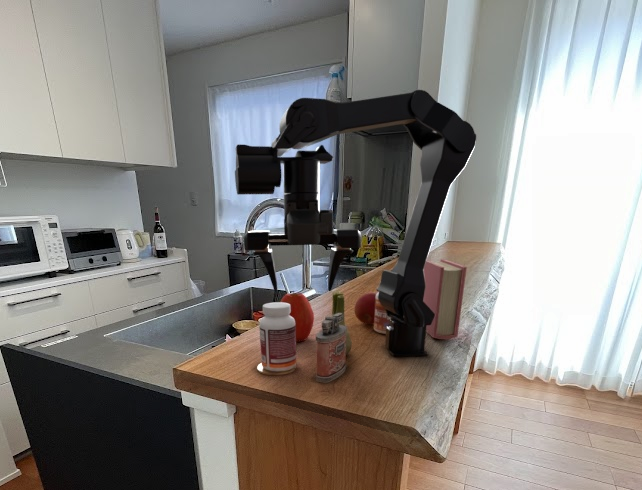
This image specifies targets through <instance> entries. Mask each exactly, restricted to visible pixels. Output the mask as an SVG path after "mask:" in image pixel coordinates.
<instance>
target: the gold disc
mask: <svg viewBox="0 0 642 490" xmlns="http://www.w3.org/2000/svg"><path fill="white" fill-rule="evenodd" d="M296 366H297V365H296ZM296 366H295V367H294V368H292V369H290V370H287V371H280V372H276V371H269V370H266V369H264V368H263V366H262V362H260V363H259V364H257V366H256V370H257V372H259V373H260V374H263V375H266V376H283V375H288V374H291V373H292V372H294V371H295V370H296V368H297V367H296Z"/></svg>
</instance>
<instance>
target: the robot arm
mask: <svg viewBox="0 0 642 490" xmlns="http://www.w3.org/2000/svg"><path fill="white" fill-rule="evenodd" d="M279 121H280V122H279V128H278V129H279V134H278V135H277V137H275V138H274V140H273V141H272V142H271V145H270V146H269V145H267V146H265V145H264V146H262V145H261V146H260V145H255V146H253V145H248V144H237V145H236V147H235V170H234V181H235V189H236V190H235V191H236V195H274V193H275V190H276V188H281V185H282V180H283V213H284V216H283V217H284V219H283V227H284V229H283V231H284V234H280V233H279V234H278V233H277V234H271V232H270V230H249V231H247V232H246V233H245V234H244V236H243V245H244V246H243V247H244V251H253V252H252V254H253V256H256V257H257V256H258V257H259V258H260V259H261V261H262V263H263V265H264V267H265V269H266V271H267V274H268V276H269V280H270V282H271V285H272V287H273V291H274V293H278V279H277V272H276V265H275V258H274V252H273V249H272V246H273V247H274V246H275V247H276V246H277V247H278V246H313V245H315V246H317V245H318V246H321V245H333V246H332V247H331V248H330V254H329V265H328V275H327V291H328V292H332V289H333V286H334V283H335V279H336V277H337V274H338V271H339V269H340V266H341V264H342V263H343V261H344V259H345V257H346V255H349V254H350V255H351V254H352V253H353V252H354V250H353V249H361V248H362V233H361V231H359V229H356V228H334V210H333V209H320V207H321V205H320V203H321V202H320V201H321V200H320V198H321V197H320V190H321V189H320V182H321V181H320V180H321V179H320V176H321V175H320V173H321V169H320V168H321V167H320V165H325V164H328V163H330V162H332V161H333V160H334V156H333V155H332V154H331V153H330V152H328V150H327V149H326V147H325V145H324V144H320V145H319V146H317V147H316V149H314V150H302V149H305V148H308V147H311V146H313V145H316V144H318V143H321V142H323V141H325V140H328V139H330V138H333V137H335V136H337V135H338V136H339V135H341V134H348V133H354V132H361V131H366V130H372V129H373V130H374V129H379V128H386V127H392V126H398V125H402V126H403V127H404V128H405V129H406V130H407V133H408V135H409V136H410V138H411V141H412V142H413V144H414V145H415V146H416V147H417V148H418V149H419V150H421V153H420V160H419V168H420V176H421V182H420V186H419V190H418V192H417V197H416V200H415V203H414V206H413V209H412V213H411V216H410V220H409V223H408V226H407V229H406V231H405V232H406V233H405V236H404V239H403V242H402V244H401V245H402V246H401V248H400V252H399V255H398V258H397V261H396V262H395V265H393V267H392V268H391V270H387V269H383V270H382V272H381V276H380V281H381V282H380V281H379V285H377V288H376V292H379V295H378V300H379V302H380V304H381V306H382V307H384V308H385V310H386V314H387V316H389V317H391V318H392V319H390V322H389V326H387V327H386V334H385V341H384V347H385V348H386V349H387V351H388V352H389V353H390V354H391V356H392V357H395V358H397V357H400V358H401V357H427V356H428V352H427V350H425V348H426V339H427V338H426V337H427V331H426V328H427V325H431V324H432V321H433V319H434V317H435V314H434V312H433V311H432V310H431V309H430V308H429V307H428V306H427V305H426V304H425V303H424V302H423V300H424V294H425V288H426V284H425V276H424V266H425V263H426V260H428V257H429V253H430V250H431V247H432V246H433V241H434V239H435V235H436V232H437V229H438V226H439V222H440V220H441V216H442V213H443V210H444V208H445V204H446V201H447V199H448V196H449V192H450V189H451V186H452V184H453V183H454V182H455V180H456V179H457V178H458V177H459V175H460V174H461V173H462V172H463V170H464V169H465V168H466V166H467V164H468V162H469V160H470V158H471V156H472V154H473V152H474V150H475V147H476V144H477V133H475V130H474V127H473V126H472V125H471V123H469V122H468V121H467V120H464V119H462V117H461V116H460V115H458V113H457V112H456V111H454V110H453V109H451V108H449V107H447V106H446V105H444V104H441V102H439V101H437V100H435V99H434V97H433V96H432V95H431V94H430V93H429V92H427V90H424V89H415V90H413V91H411V92H406V93H405V92H404V93H400V94H399V93H398V94H393V95H387V96H377V97H373V98H365V99H359V100H352V101H345V102H339V101H334V100H330V99H326V98H317V97H300V98H297V99H295V100H294V101H293V102H291V104H290V106H289V107H288V108H287V109H286V111H285V112H284V113H283V115H282V116H281V118H280V120H279ZM291 149H292V150H297V151H296V153H295V156H284V155H285V154H286V153H288V152H289V151H290V150H291ZM282 170H283V171H282ZM282 175H283V177H282ZM282 178H283V179H282Z"/></svg>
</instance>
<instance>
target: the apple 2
mask: <svg viewBox="0 0 642 490" xmlns="http://www.w3.org/2000/svg"><path fill="white" fill-rule="evenodd" d="M377 293H378V292H366V293H364V294H362V295H360V296H359V297H358V298H357V300H356V301H355V304H354V315H355V317H356V319H357V320H358V321H360V322H361V323H362V324H366V325H374V315H375V298H376V294H377Z"/></svg>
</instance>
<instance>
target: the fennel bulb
mask: <svg viewBox="0 0 642 490" xmlns="http://www.w3.org/2000/svg"><path fill="white" fill-rule="evenodd" d="M331 310H332V311H331V316H333V315H335V314H337V313H342V314H343V321H341V322H340V323H339V325H344V326H346V322H345V321H346V320H345V296H344V293H343V292H340V291H333V292H332V309H331ZM351 349H352V338H351V336H350V333H349V330H348V329H347V333H346V354H345V356H347V354H349V353H350V352H351Z"/></svg>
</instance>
